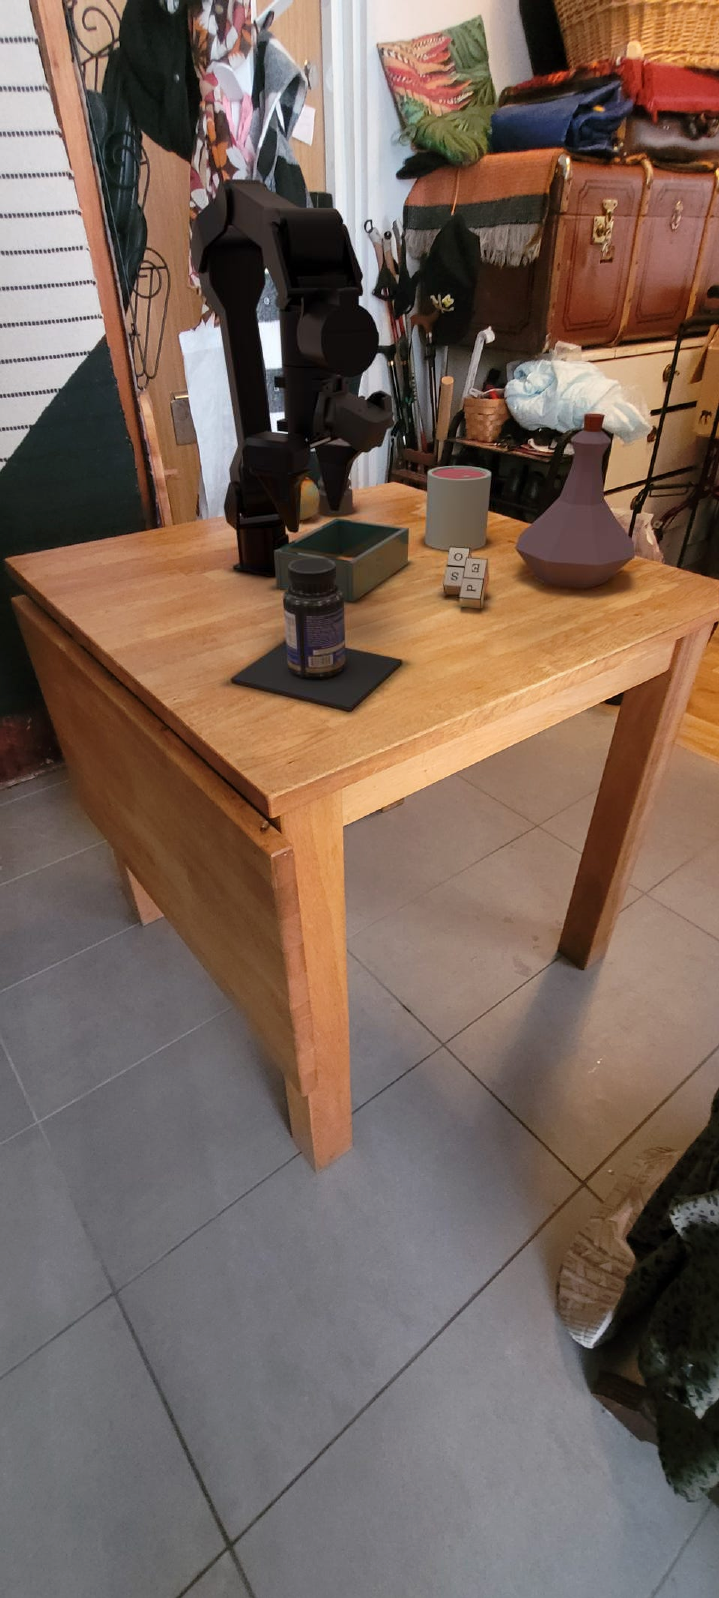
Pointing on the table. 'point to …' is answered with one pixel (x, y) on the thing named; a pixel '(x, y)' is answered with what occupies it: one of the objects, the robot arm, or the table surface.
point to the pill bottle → (314, 619)
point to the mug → (457, 507)
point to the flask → (578, 523)
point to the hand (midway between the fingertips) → (315, 520)
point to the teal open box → (349, 554)
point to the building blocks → (466, 577)
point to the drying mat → (332, 691)
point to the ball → (308, 499)
